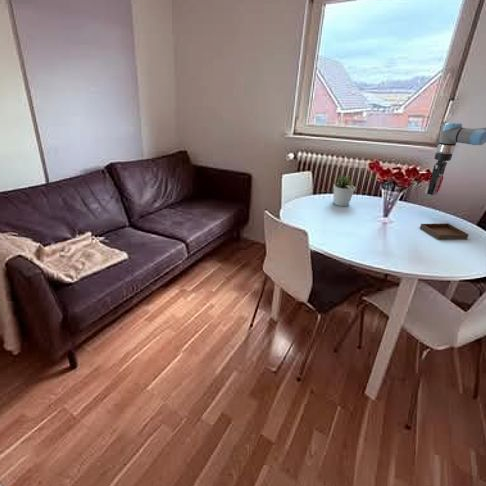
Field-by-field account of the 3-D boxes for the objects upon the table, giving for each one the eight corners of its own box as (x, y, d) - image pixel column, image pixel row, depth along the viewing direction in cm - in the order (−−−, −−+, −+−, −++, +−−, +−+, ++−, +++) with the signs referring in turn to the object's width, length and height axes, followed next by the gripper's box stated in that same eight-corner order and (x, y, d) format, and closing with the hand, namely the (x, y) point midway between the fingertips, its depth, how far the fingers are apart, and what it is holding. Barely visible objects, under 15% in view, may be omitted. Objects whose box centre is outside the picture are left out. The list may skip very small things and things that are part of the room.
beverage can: (440, 195, 176) (447, 175, 172) (431, 196, 175) (437, 175, 170) (431, 192, 182) (437, 172, 177) (422, 193, 181) (428, 173, 176)
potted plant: (327, 199, 203) (333, 169, 195) (350, 201, 200) (356, 171, 191) (329, 206, 192) (334, 174, 184) (352, 208, 189) (359, 176, 180)
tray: (467, 239, 153) (468, 234, 152) (437, 239, 152) (439, 234, 151) (446, 227, 165) (448, 223, 164) (419, 228, 164) (421, 223, 163)
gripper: (442, 149, 177) (430, 188, 186) (430, 153, 166) (418, 194, 175) (457, 151, 172) (444, 191, 181) (447, 155, 160) (433, 198, 170)
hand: (431, 193), depth 178 cm, fingers closed on beverage can, 6 cm apart
